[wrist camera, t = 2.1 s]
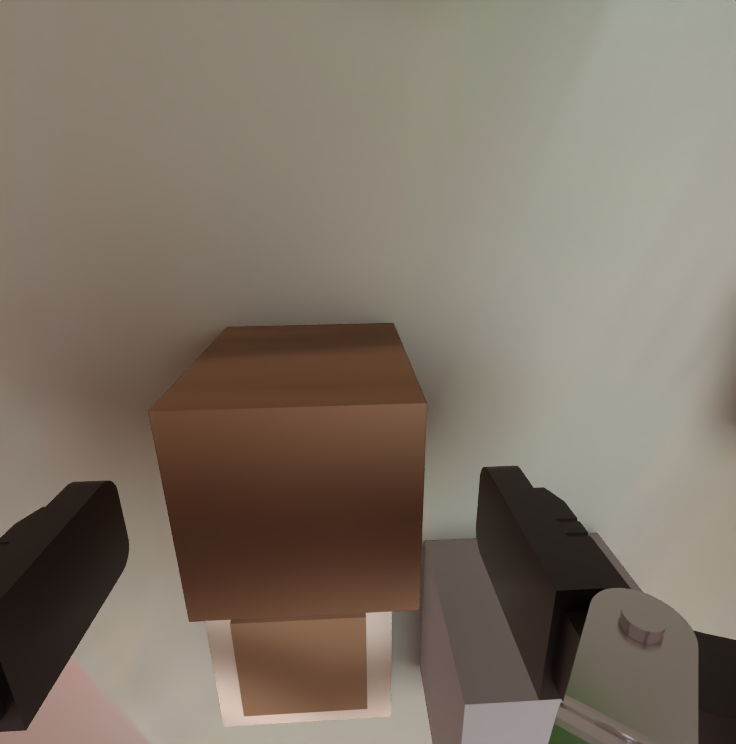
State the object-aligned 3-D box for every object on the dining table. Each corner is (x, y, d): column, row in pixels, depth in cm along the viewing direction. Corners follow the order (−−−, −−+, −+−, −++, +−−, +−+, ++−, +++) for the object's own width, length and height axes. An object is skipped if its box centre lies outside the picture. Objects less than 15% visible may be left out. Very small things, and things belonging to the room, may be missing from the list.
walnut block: (227, 326, 14) (148, 411, 8) (393, 322, 14) (427, 403, 8) (244, 470, 16) (188, 621, 10) (392, 464, 16) (419, 610, 10)
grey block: (424, 538, 17) (464, 704, 11) (596, 531, 17) (717, 690, 12) (419, 664, 19) (451, 855, 14) (571, 655, 20) (663, 839, 14)
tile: (203, 589, 17) (198, 604, 16) (391, 580, 17) (392, 595, 17) (226, 716, 20) (222, 734, 19) (389, 706, 20) (391, 723, 19)
